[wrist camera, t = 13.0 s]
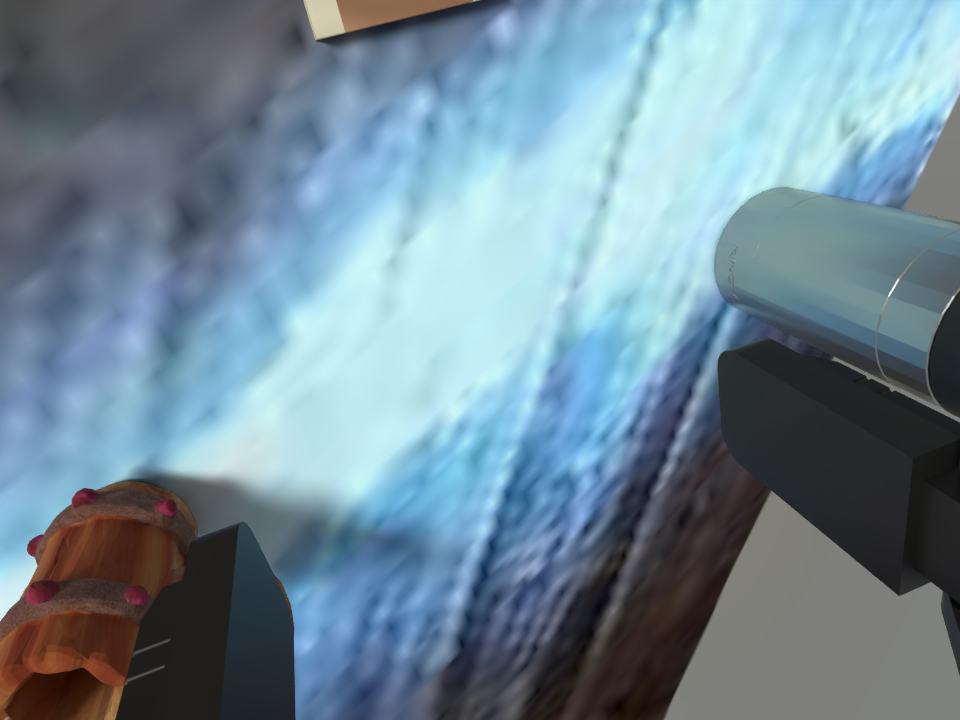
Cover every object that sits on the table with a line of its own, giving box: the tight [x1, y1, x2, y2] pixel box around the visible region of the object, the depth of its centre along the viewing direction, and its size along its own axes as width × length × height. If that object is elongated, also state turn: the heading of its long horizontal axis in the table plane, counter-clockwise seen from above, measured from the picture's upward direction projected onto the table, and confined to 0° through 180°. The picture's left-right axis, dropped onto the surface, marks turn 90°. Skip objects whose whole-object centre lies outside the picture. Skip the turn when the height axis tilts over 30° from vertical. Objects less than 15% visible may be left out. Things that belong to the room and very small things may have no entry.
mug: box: [0, 481, 294, 720], centre depth 35 cm, size 15×8×15 cm, turn 74°
